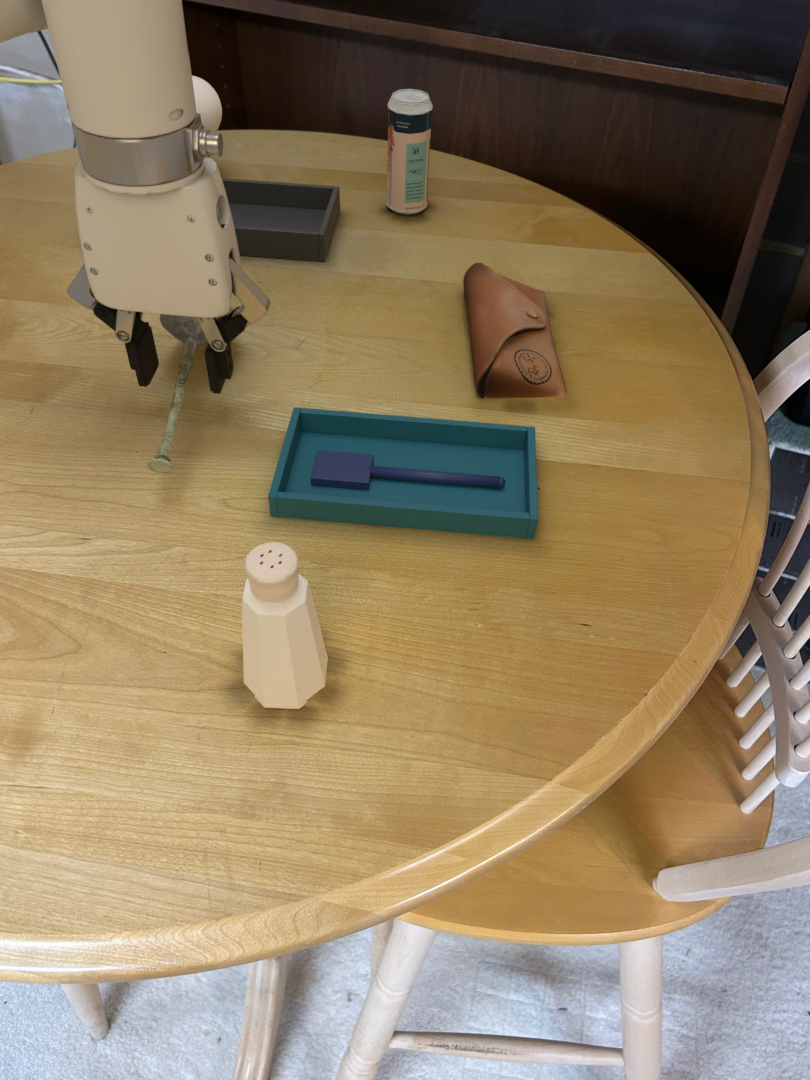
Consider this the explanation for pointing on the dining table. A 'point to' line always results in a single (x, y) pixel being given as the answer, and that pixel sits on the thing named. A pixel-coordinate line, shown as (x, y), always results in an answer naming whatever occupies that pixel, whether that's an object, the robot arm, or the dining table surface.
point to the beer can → (408, 150)
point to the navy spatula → (383, 473)
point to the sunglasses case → (510, 337)
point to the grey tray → (283, 218)
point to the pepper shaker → (280, 630)
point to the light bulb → (207, 104)
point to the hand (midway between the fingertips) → (184, 377)
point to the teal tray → (417, 449)
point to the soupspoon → (177, 381)
